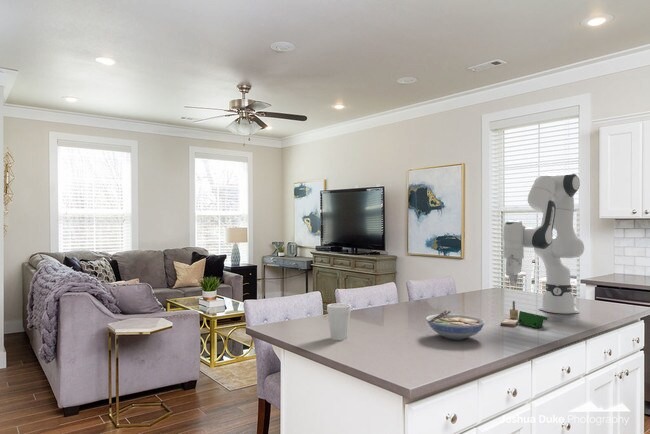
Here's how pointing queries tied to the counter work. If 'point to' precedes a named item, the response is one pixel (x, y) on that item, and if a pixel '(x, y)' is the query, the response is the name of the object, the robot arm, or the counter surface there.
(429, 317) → the ramen bowl
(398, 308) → the counter surface
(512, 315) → the awl
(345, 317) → the foam cup
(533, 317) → the clamp
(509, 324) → the bandage strip
